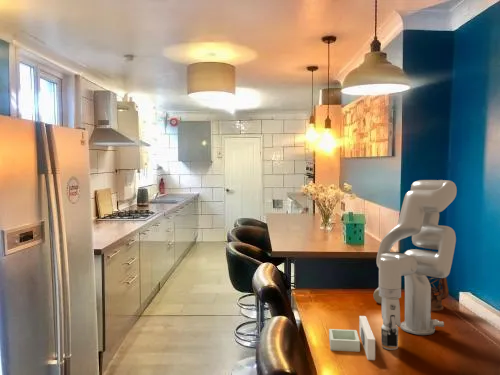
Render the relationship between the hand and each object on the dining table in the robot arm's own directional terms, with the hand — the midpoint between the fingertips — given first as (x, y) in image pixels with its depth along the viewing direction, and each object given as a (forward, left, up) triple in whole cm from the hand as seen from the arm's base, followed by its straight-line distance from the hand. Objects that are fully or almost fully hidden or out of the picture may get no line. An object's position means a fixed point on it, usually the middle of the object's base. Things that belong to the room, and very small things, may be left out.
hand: (389, 340), depth 147 cm
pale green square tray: (+16, 0, -2) cm, 16 cm away
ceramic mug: (-8, -51, -3) cm, 51 cm away
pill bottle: (0, 0, -3) cm, 3 cm away
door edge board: (+8, 0, -2) cm, 8 cm away
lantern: (-26, -47, -3) cm, 54 cm away
